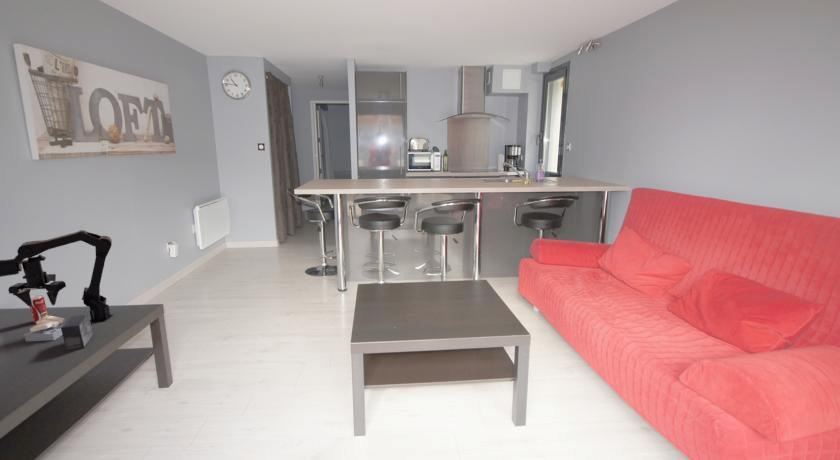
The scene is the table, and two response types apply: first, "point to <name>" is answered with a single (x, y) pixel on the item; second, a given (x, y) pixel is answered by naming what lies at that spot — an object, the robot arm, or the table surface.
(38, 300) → the soda can
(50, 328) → the switch unit
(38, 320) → the rocker
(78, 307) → the table surface
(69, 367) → the table surface
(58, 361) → the table surface
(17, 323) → the table surface
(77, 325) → the small box
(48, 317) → the rocker
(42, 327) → the rocker
